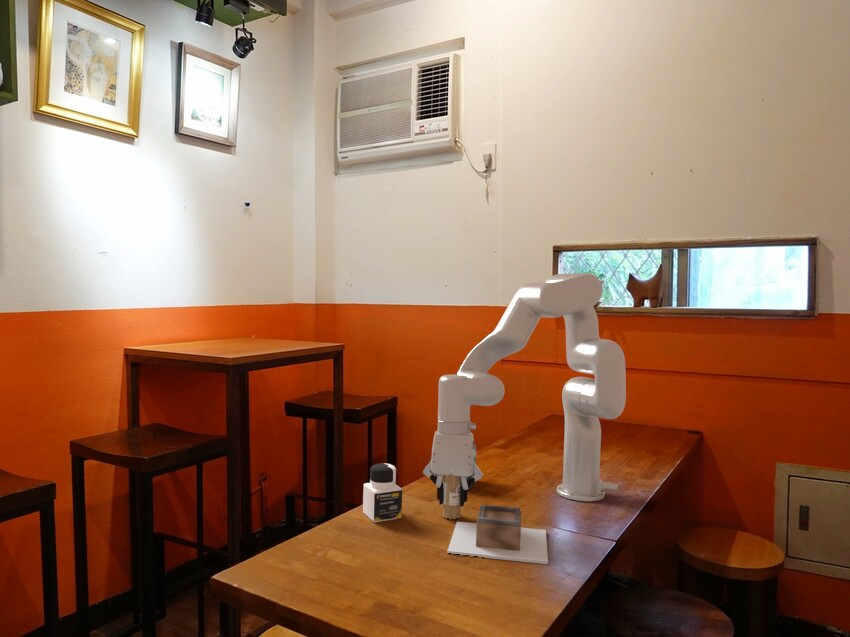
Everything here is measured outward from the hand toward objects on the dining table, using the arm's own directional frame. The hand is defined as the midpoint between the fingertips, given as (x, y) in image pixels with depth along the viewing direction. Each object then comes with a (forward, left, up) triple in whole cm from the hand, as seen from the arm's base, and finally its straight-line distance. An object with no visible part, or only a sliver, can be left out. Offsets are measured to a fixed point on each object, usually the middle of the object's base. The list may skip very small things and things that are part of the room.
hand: (452, 502), depth 138 cm
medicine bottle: (+16, +3, -4) cm, 17 cm away
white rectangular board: (-12, +12, -3) cm, 17 cm away
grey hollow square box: (-12, +12, -3) cm, 17 cm away
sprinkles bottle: (0, 0, -3) cm, 3 cm away
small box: (0, -25, -4) cm, 25 cm away
